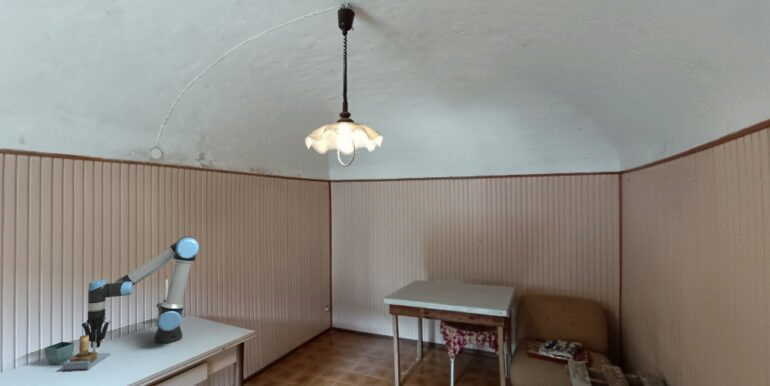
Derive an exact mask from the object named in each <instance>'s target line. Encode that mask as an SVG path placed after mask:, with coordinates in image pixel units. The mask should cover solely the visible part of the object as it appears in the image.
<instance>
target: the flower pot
mask: <svg viewBox="0 0 770 386" xmlns="http://www.w3.org/2000/svg"><path fill="white" fill-rule="evenodd" d="M74 348H75V342H68V341H60V342H57V343H54V344H51V345H49V346H45V347H44V354H45V358H46V361H48V363H49V364H52V365H61V364H64V363H65V362H69V361H70V358H72V355H73V353H74V350H75V349H74Z"/></svg>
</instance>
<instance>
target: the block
mask: <svg viewBox="0 0 770 386" xmlns="http://www.w3.org/2000/svg"><path fill="white" fill-rule="evenodd" d="M95 360H97V352H92V351H88V356H86V357H79V352H78V353H77V354H76V355H75V354H74V355H73V356H71V357H70V358H69V360H68V362H76V361H90V364H91V363H92V362H94V361H95Z"/></svg>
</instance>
